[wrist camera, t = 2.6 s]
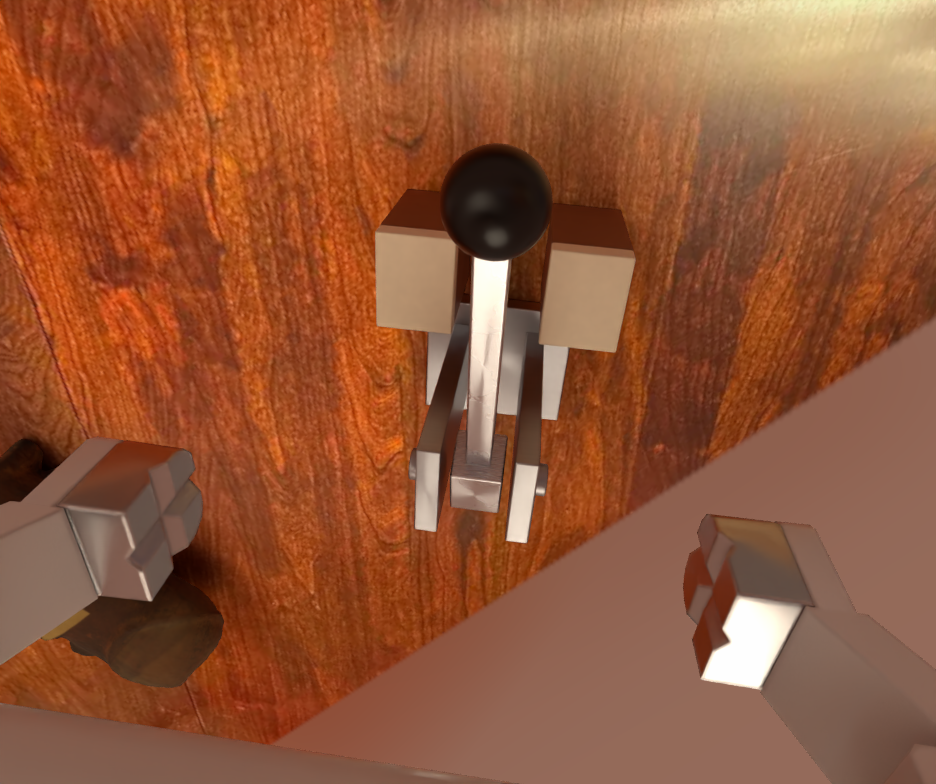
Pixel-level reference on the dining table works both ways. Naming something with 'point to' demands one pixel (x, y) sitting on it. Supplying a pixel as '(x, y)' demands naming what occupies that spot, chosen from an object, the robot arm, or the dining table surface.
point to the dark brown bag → (127, 607)
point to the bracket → (520, 393)
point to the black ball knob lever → (489, 295)
